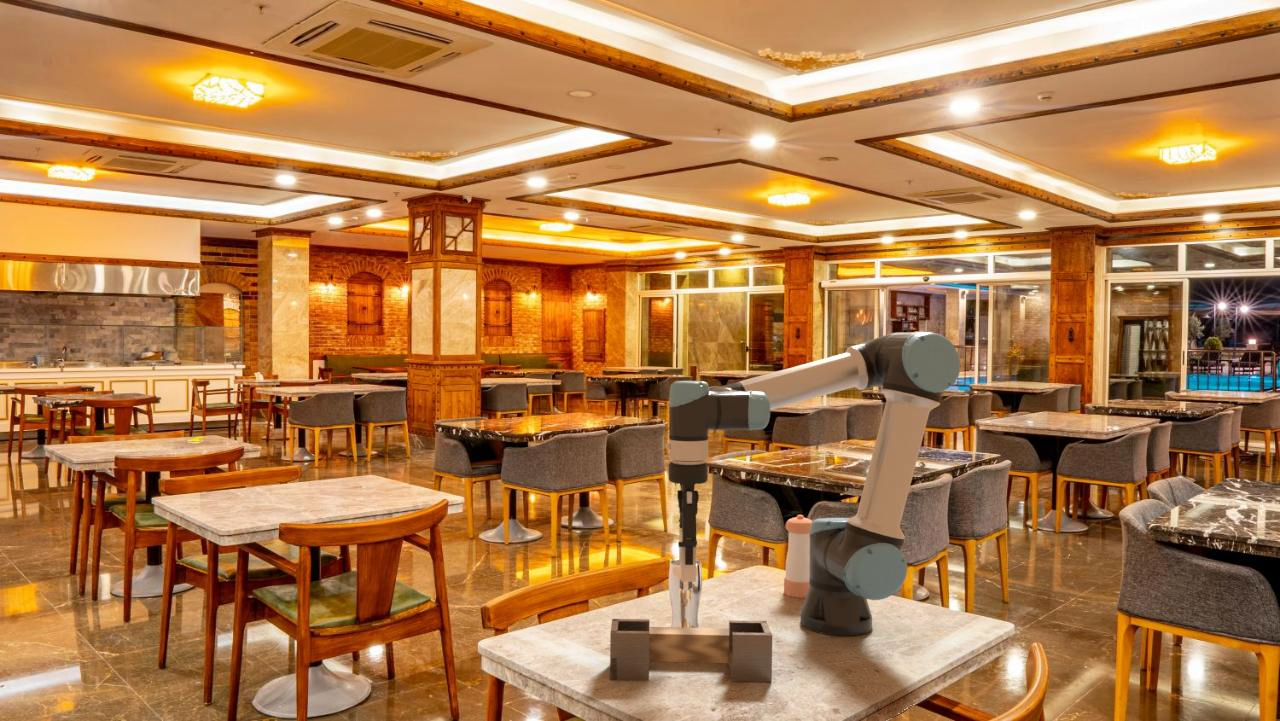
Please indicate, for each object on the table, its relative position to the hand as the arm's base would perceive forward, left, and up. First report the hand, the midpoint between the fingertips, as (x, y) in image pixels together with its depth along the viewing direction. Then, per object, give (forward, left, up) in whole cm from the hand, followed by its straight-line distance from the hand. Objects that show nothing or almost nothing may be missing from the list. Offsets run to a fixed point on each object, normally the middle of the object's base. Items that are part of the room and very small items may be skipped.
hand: (687, 571), depth 168 cm
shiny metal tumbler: (0, -14, -17) cm, 22 cm away
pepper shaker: (-29, -44, -17) cm, 55 cm away
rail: (0, 0, -17) cm, 17 cm away
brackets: (0, +8, -17) cm, 18 cm away
